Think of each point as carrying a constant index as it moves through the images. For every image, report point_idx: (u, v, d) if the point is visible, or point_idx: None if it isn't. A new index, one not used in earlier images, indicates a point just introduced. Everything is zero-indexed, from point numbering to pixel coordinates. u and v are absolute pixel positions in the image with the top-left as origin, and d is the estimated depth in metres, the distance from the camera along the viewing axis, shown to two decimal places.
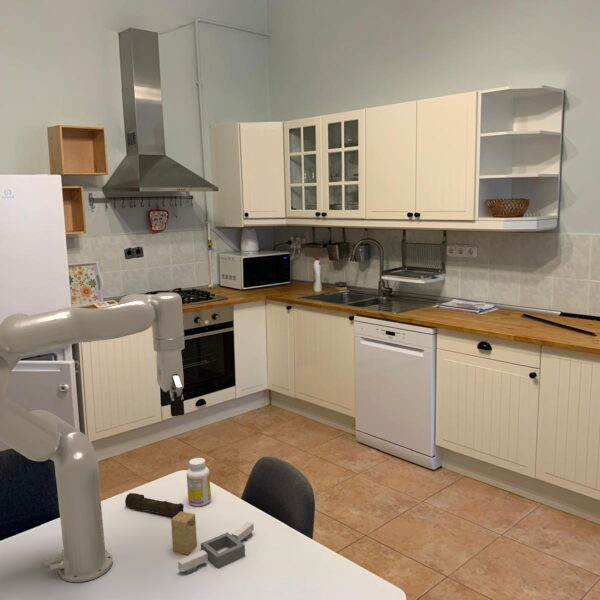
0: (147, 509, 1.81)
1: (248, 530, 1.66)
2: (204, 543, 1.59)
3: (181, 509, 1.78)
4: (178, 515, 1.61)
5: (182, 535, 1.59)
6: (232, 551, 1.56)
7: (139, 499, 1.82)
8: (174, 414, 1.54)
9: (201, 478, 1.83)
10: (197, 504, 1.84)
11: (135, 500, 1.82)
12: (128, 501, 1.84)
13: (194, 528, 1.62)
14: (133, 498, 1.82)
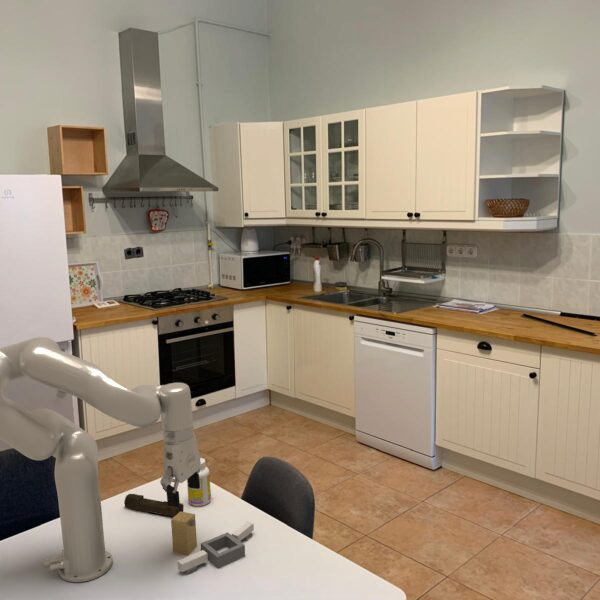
0: (147, 509, 1.81)
1: (248, 530, 1.66)
2: (204, 543, 1.59)
3: (181, 509, 1.79)
4: (178, 515, 1.61)
5: (182, 535, 1.59)
6: (232, 551, 1.56)
7: (138, 500, 1.81)
8: None
9: (201, 478, 1.83)
10: (197, 504, 1.84)
11: (135, 500, 1.82)
12: (127, 502, 1.83)
13: (194, 528, 1.62)
14: (133, 499, 1.82)
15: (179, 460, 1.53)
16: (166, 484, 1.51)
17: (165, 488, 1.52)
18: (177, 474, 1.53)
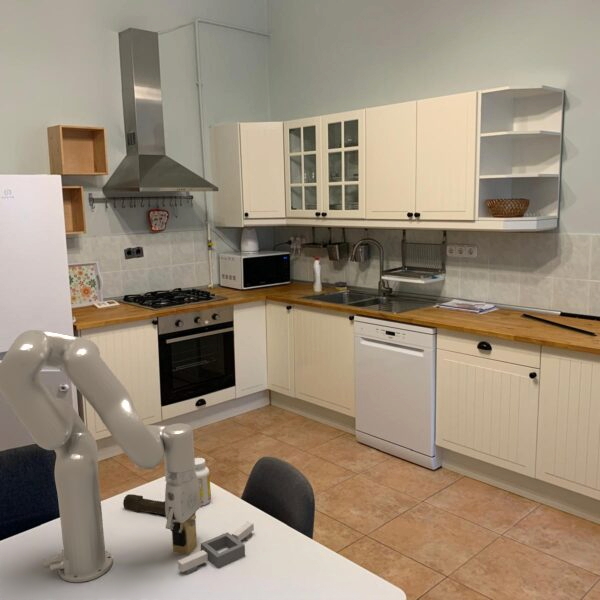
0: (146, 510, 1.80)
1: (248, 530, 1.66)
2: (204, 543, 1.59)
3: None
4: None
5: None
6: (232, 551, 1.56)
7: (138, 500, 1.81)
8: None
9: (201, 478, 1.83)
10: None
11: (134, 501, 1.81)
12: (126, 502, 1.83)
13: (194, 528, 1.62)
14: (132, 500, 1.82)
15: (181, 501, 1.55)
16: (172, 527, 1.55)
17: None
18: (178, 515, 1.55)
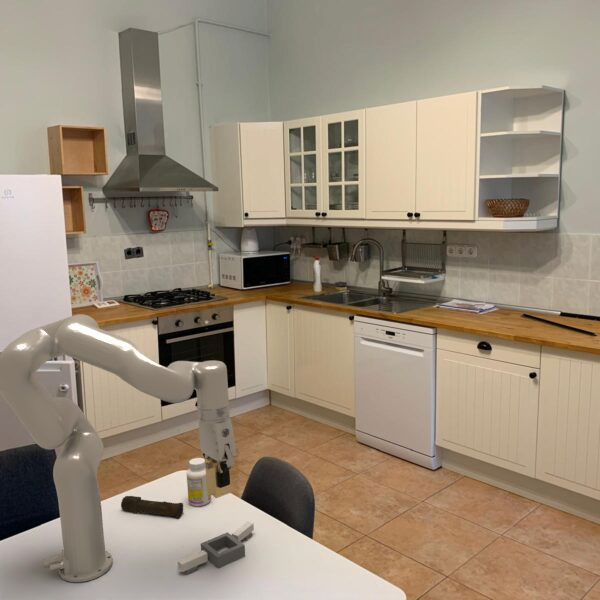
0: (146, 511, 1.80)
1: (248, 530, 1.66)
2: (204, 543, 1.59)
3: (181, 508, 1.79)
4: (211, 459, 1.54)
5: None
6: (232, 551, 1.56)
7: (137, 501, 1.80)
8: None
9: (201, 478, 1.83)
10: (197, 504, 1.84)
11: (133, 502, 1.80)
12: (125, 504, 1.82)
13: None
14: (130, 501, 1.81)
15: None
16: None
17: None
18: (234, 448, 1.52)
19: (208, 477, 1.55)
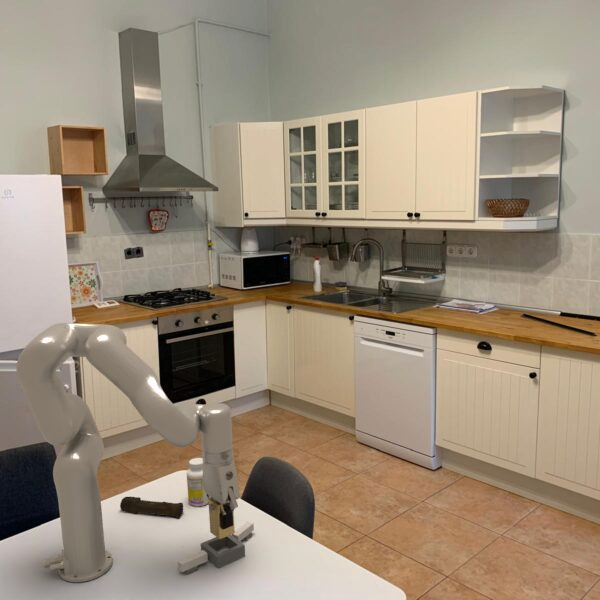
0: (145, 511, 1.80)
1: (248, 530, 1.66)
2: (204, 543, 1.59)
3: (181, 508, 1.79)
4: (214, 500, 1.56)
5: None
6: (232, 551, 1.56)
7: (136, 502, 1.80)
8: None
9: (201, 478, 1.83)
10: (197, 504, 1.84)
11: (133, 503, 1.80)
12: (124, 505, 1.81)
13: None
14: (130, 502, 1.81)
15: None
16: None
17: None
18: (237, 491, 1.53)
19: (211, 518, 1.57)
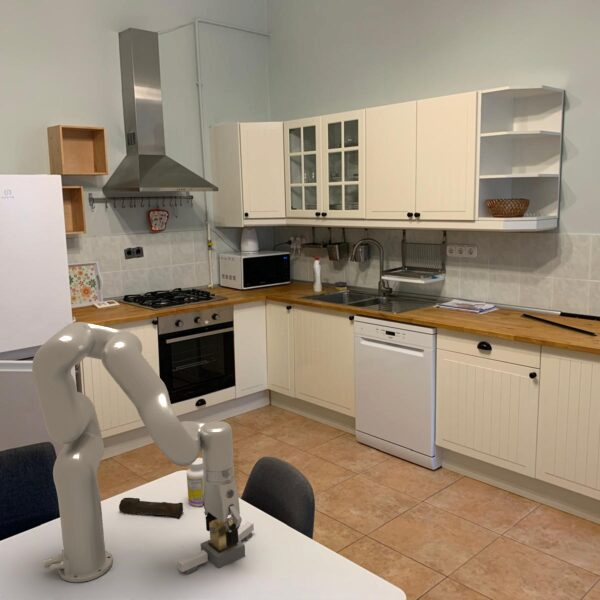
0: (145, 512, 1.79)
1: (248, 530, 1.66)
2: (204, 543, 1.59)
3: (182, 508, 1.79)
4: (215, 524, 1.57)
5: None
6: (232, 551, 1.56)
7: (136, 502, 1.80)
8: None
9: (201, 478, 1.83)
10: (197, 504, 1.84)
11: (132, 504, 1.80)
12: (123, 506, 1.81)
13: None
14: (129, 503, 1.80)
15: None
16: None
17: (237, 526, 1.51)
18: (238, 509, 1.54)
19: (212, 541, 1.58)
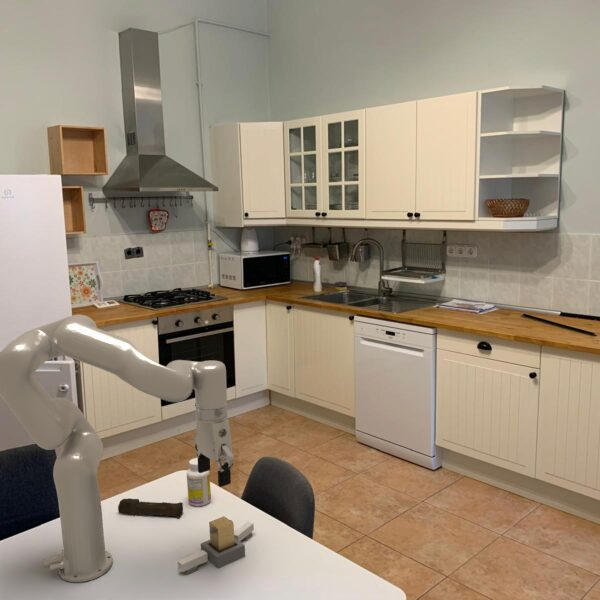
0: (145, 512, 1.79)
1: (248, 530, 1.66)
2: (204, 543, 1.59)
3: (182, 508, 1.79)
4: (215, 524, 1.57)
5: (229, 538, 1.57)
6: (232, 551, 1.56)
7: (135, 503, 1.79)
8: None
9: (201, 478, 1.83)
10: (197, 504, 1.84)
11: (131, 505, 1.79)
12: (122, 507, 1.80)
13: None
14: (129, 504, 1.80)
15: None
16: None
17: (230, 465, 1.49)
18: (230, 449, 1.52)
19: (212, 541, 1.58)
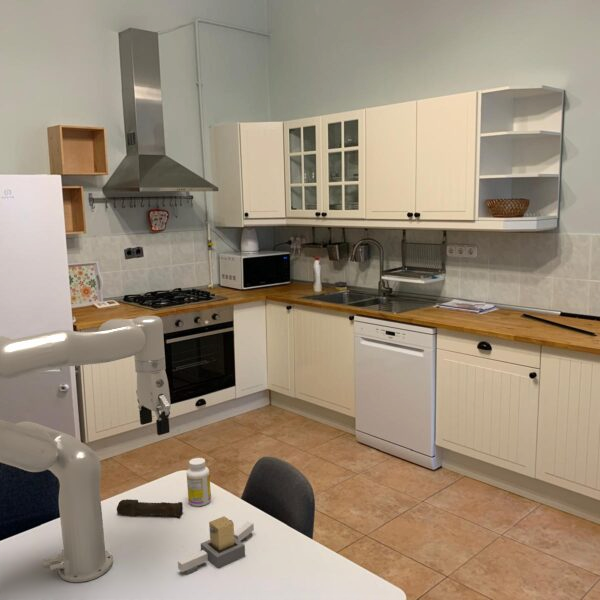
0: (144, 513, 1.79)
1: (248, 530, 1.66)
2: (204, 543, 1.59)
3: (182, 507, 1.79)
4: (215, 524, 1.57)
5: (229, 538, 1.57)
6: (232, 551, 1.56)
7: (135, 504, 1.79)
8: None
9: (201, 478, 1.83)
10: (197, 504, 1.84)
11: (131, 505, 1.79)
12: (121, 508, 1.80)
13: None
14: (128, 504, 1.79)
15: None
16: None
17: (167, 413, 1.57)
18: (168, 399, 1.59)
19: (212, 541, 1.58)
